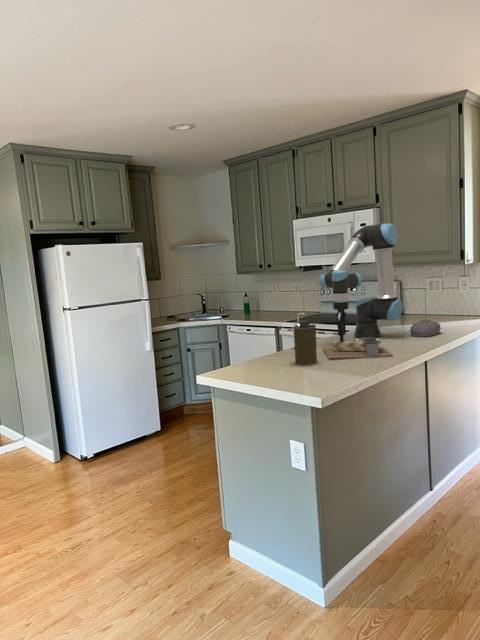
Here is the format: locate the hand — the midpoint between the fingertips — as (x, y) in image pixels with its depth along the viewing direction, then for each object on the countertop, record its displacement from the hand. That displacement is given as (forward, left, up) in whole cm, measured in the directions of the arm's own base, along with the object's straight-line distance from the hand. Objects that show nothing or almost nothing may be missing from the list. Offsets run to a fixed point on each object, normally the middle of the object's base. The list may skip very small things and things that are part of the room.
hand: (342, 347), depth 246 cm
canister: (+21, -20, -3) cm, 29 cm away
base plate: (+6, +6, -2) cm, 8 cm away
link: (+6, +7, -1) cm, 9 cm away
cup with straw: (-17, -20, -3) cm, 27 cm away
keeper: (+11, +11, -1) cm, 16 cm away
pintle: (+10, +16, +3) cm, 19 cm away
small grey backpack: (-37, +54, -3) cm, 65 cm away
